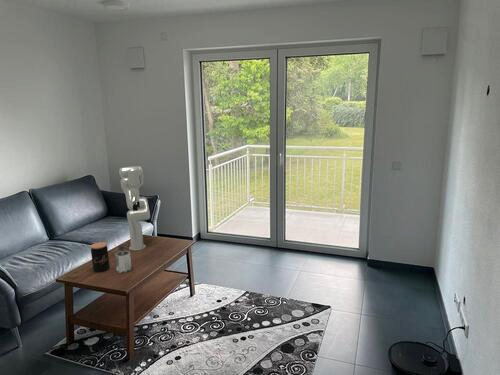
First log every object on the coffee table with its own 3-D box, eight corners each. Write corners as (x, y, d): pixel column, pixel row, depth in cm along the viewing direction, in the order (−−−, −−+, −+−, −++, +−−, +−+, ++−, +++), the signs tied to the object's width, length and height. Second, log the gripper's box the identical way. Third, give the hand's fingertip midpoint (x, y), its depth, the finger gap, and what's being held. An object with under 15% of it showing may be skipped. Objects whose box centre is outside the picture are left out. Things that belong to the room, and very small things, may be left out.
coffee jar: (94, 273, 255) (91, 248, 251) (92, 268, 264) (89, 243, 260) (110, 270, 260) (107, 245, 256) (108, 264, 269) (105, 241, 265)
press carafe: (119, 266, 266) (117, 250, 264) (132, 264, 268) (131, 249, 265) (115, 273, 255) (113, 256, 252) (130, 272, 256) (128, 255, 254)
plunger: (119, 263, 262) (117, 243, 259) (129, 262, 263) (127, 243, 260) (117, 267, 256) (115, 247, 253) (127, 266, 257) (125, 246, 254)
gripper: (130, 183, 275) (133, 206, 278) (126, 188, 258) (129, 212, 262) (141, 183, 276) (143, 205, 279) (137, 188, 259) (140, 211, 263)
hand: (136, 208), depth 270 cm, fingers open, 9 cm apart
